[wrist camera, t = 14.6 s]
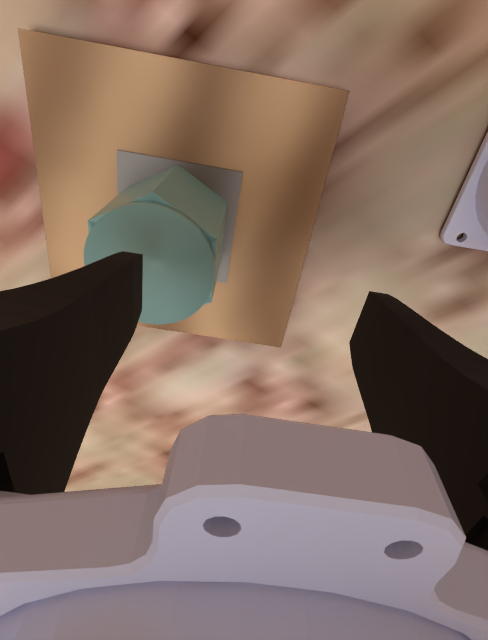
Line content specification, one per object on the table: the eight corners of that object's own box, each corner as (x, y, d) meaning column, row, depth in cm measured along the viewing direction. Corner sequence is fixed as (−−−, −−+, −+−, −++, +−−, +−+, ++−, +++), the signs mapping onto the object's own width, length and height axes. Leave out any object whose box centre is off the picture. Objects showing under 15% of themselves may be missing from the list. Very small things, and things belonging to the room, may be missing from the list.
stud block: (344, 90, 17) (371, 95, 13) (280, 336, 25) (283, 391, 21) (32, 30, 17) (-50, 15, 12) (64, 303, 24) (20, 353, 20)
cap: (196, 288, 22) (177, 347, 17) (104, 227, 20) (54, 275, 15) (250, 218, 19) (247, 265, 15) (152, 143, 18) (112, 168, 13)
